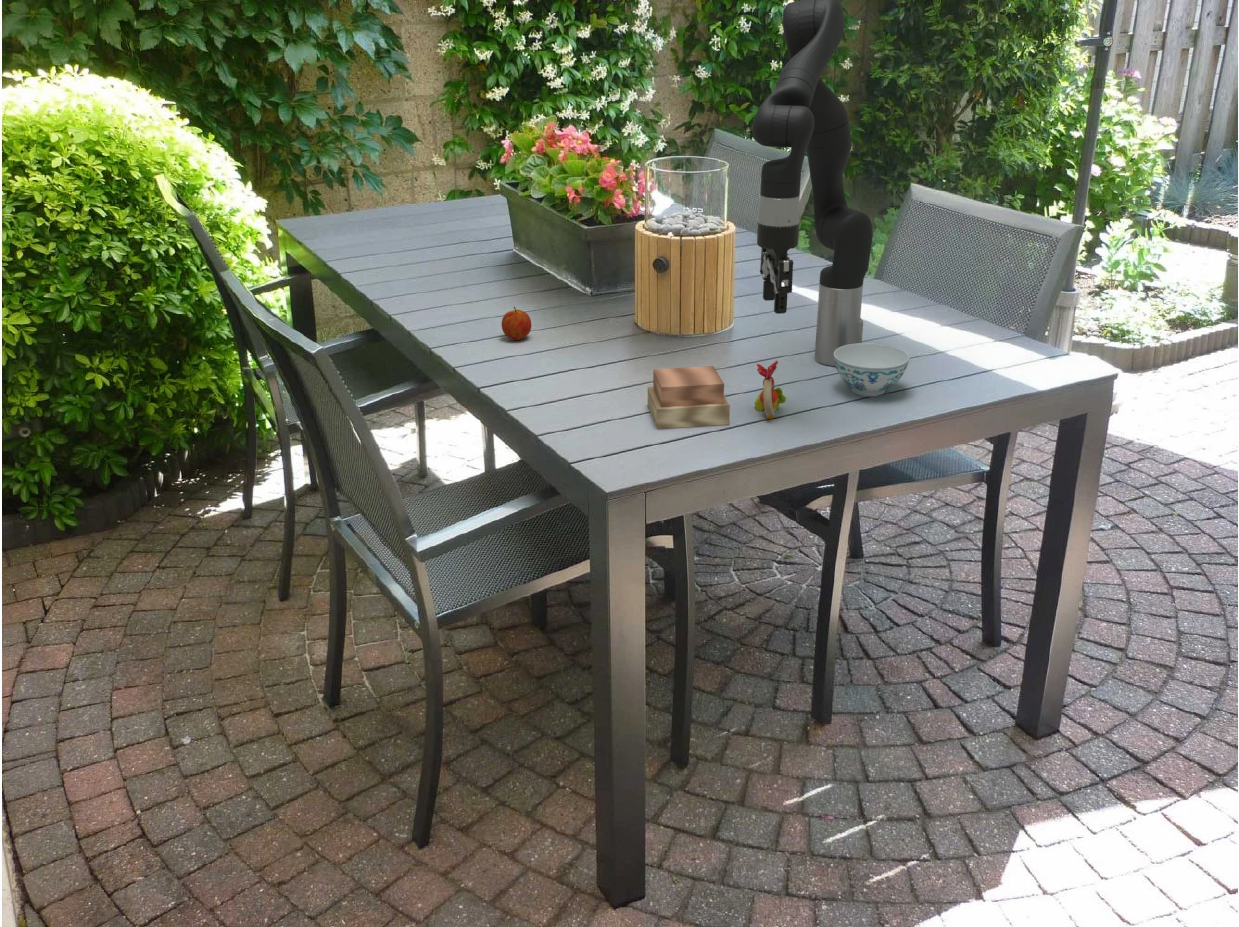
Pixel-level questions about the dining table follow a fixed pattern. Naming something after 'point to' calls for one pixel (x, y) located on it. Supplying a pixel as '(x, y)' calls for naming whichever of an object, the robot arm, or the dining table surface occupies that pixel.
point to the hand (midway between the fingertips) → (774, 306)
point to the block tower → (688, 398)
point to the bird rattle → (769, 392)
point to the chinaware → (870, 366)
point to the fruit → (516, 324)
